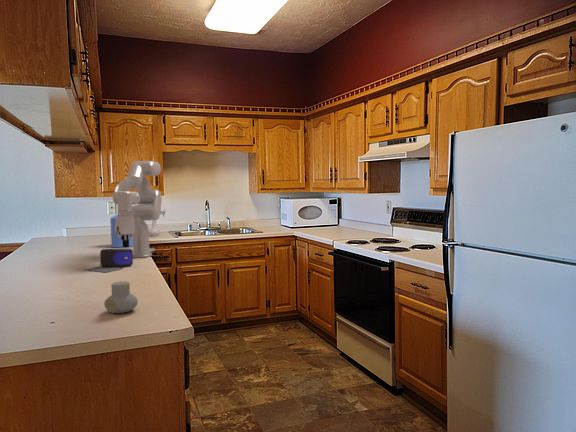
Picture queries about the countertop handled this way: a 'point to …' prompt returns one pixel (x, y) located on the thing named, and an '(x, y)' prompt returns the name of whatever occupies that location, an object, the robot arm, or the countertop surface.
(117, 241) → the water jug
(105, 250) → the leaning round-cornered charcoal block
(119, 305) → the air freshener
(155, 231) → the flower vase
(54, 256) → the countertop surface
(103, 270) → the mat
